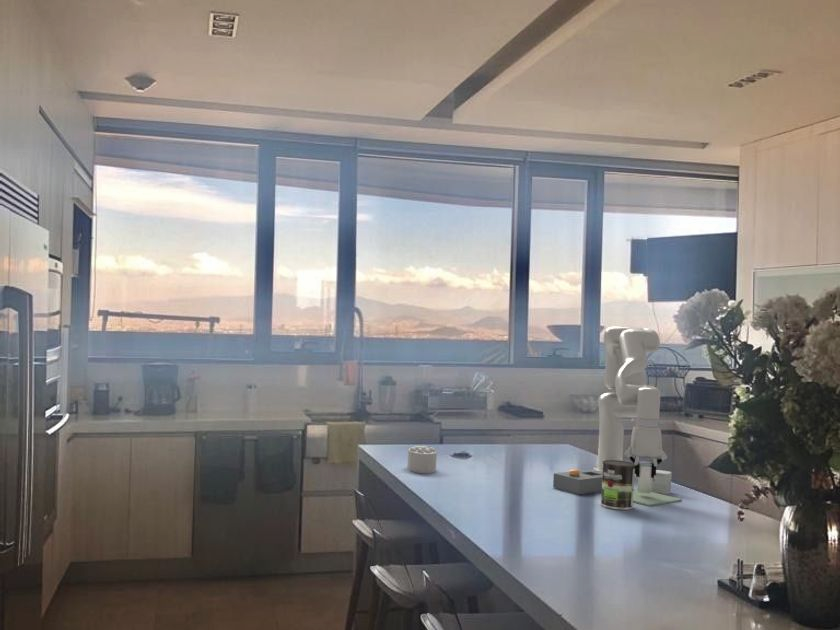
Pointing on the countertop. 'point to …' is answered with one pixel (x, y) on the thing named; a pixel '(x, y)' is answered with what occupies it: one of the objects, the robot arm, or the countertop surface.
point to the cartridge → (644, 477)
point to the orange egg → (574, 472)
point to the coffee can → (618, 484)
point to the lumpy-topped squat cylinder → (422, 459)
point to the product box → (661, 482)
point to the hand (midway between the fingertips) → (644, 476)
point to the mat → (652, 498)
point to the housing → (579, 482)
